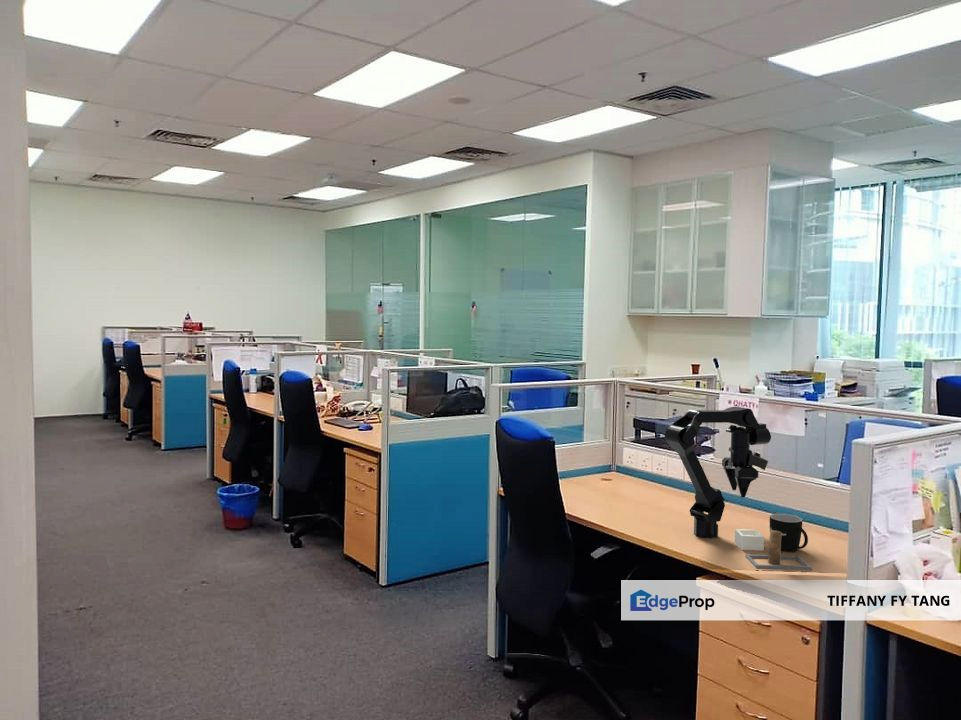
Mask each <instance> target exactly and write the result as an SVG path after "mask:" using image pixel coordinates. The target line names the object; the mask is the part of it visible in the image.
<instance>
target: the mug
mask: <svg viewBox="0 0 961 720" xmlns="http://www.w3.org/2000/svg"><path fill="white" fill-rule="evenodd" d="M771 530H776V531H780V532H782V535H781V552H784V553H796V552H797V551H798V550H802V549H804V548H806V547H807V545H808V542H809V538H808V537H809V536H808V533H807V532H806V531H805V529H804V528H803V518H801V517H800V516H797V515H795V514H788V513H772V514H770V515H769V532H770V531H771ZM802 535H803V539H804V542H803V544H802V545H800V543H801V538H802Z"/></svg>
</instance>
